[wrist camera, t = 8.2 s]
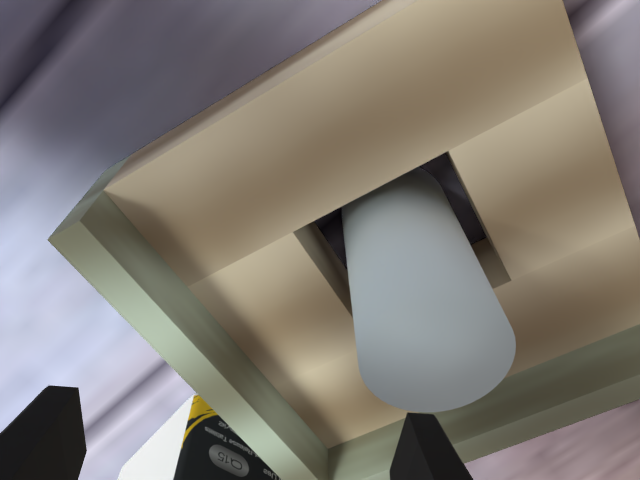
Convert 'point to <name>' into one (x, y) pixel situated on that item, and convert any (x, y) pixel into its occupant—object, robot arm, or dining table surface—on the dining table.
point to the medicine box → (196, 450)
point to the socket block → (351, 183)
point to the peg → (421, 300)
